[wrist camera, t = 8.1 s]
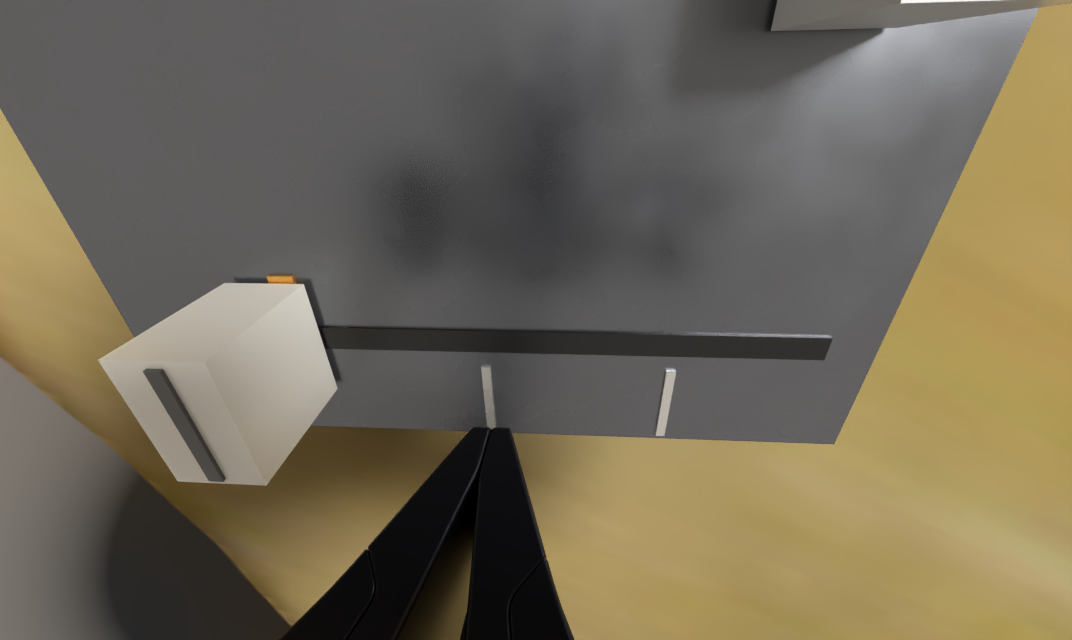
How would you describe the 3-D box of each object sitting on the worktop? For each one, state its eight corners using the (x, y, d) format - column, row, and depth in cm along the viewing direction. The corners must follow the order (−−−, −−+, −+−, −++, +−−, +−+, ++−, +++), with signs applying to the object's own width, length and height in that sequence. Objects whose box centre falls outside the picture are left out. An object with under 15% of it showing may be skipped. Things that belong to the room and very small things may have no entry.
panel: (812, 414, 16) (836, 447, 15) (212, 395, 18) (181, 423, 16) (1152, -409, 7) (1300, -531, 6) (-148, -296, 9) (-289, -370, 7)
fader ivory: (337, 388, 15) (264, 488, 11) (268, 386, 15) (175, 484, 11) (303, 283, 13) (201, 365, 9) (224, 282, 13) (92, 362, 9)
